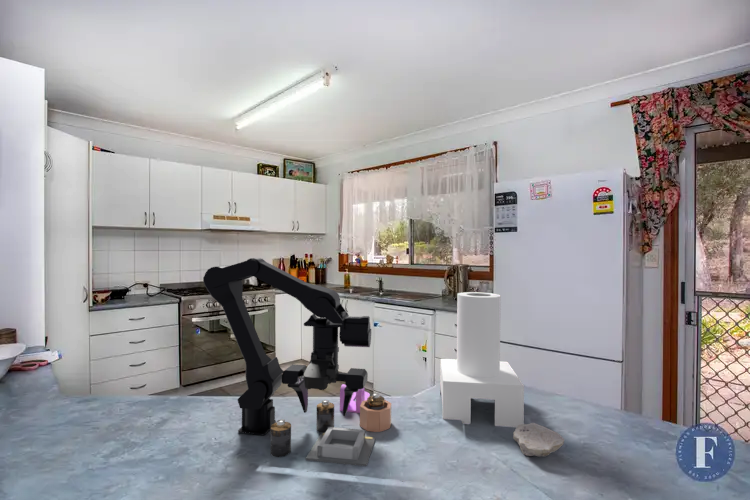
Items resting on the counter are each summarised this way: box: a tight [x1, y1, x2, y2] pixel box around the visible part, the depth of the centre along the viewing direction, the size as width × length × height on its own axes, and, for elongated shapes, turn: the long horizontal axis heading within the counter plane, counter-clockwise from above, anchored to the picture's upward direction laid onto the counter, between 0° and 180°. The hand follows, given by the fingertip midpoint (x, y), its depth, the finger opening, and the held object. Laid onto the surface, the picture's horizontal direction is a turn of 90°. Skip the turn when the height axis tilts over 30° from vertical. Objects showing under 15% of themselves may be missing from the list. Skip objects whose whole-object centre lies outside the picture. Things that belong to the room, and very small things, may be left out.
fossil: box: [512, 422, 565, 458], centre depth 79 cm, size 9×6×10 cm
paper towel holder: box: [439, 291, 525, 428], centre depth 100 cm, size 19×19×30 cm
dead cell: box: [367, 392, 385, 410], centre depth 89 cm, size 4×4×7 cm
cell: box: [315, 399, 335, 434], centre depth 87 cm, size 4×4×7 cm
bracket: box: [339, 383, 371, 414], centre depth 102 cm, size 13×6×7 cm, turn 169°
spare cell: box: [270, 418, 292, 458], centre depth 77 cm, size 4×4×7 cm
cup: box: [359, 398, 392, 433], centre depth 89 cm, size 7×7×5 cm
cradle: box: [305, 426, 376, 467], centre depth 78 cm, size 12×10×3 cm
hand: (324, 413), depth 87 cm, fingers open, 9 cm apart
